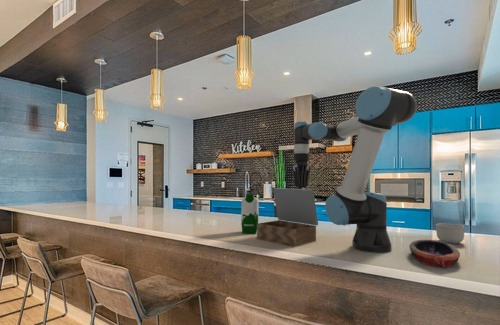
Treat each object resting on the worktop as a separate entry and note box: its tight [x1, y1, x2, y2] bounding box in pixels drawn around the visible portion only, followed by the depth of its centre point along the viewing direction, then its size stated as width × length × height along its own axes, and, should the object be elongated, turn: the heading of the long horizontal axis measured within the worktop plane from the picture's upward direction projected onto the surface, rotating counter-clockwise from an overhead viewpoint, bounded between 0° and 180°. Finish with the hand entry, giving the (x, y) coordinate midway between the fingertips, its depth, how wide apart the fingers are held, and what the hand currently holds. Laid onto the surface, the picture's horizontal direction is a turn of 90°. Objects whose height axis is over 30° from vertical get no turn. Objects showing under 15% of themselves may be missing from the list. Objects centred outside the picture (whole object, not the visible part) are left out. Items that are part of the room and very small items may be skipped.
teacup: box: [435, 222, 465, 245], centre depth 138 cm, size 14×11×8 cm
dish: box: [409, 239, 461, 268], centre depth 110 cm, size 16×31×5 cm, turn 151°
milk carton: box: [240, 193, 260, 235], centre depth 156 cm, size 9×9×20 cm
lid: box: [272, 187, 319, 226], centre depth 144 cm, size 23×17×2 cm
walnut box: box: [256, 219, 317, 248], centre depth 139 cm, size 22×16×7 cm
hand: (301, 200), depth 148 cm, fingers closed
